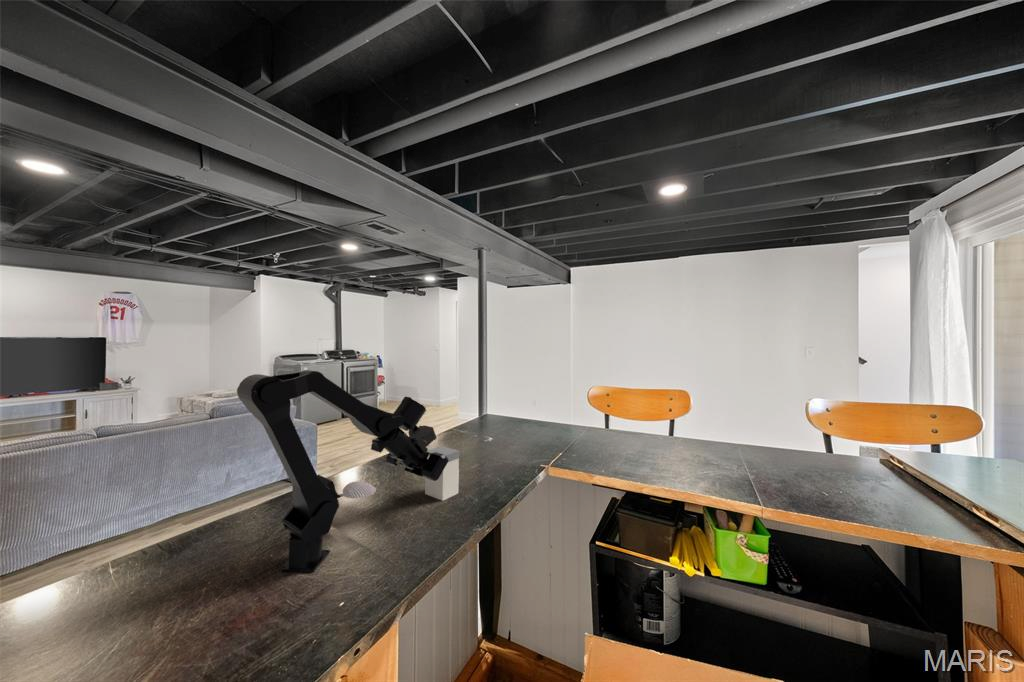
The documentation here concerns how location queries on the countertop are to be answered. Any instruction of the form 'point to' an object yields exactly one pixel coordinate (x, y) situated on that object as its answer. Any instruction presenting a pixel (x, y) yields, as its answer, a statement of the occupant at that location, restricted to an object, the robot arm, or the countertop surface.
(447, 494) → the lidded box
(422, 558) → the countertop surface
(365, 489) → the seashell
